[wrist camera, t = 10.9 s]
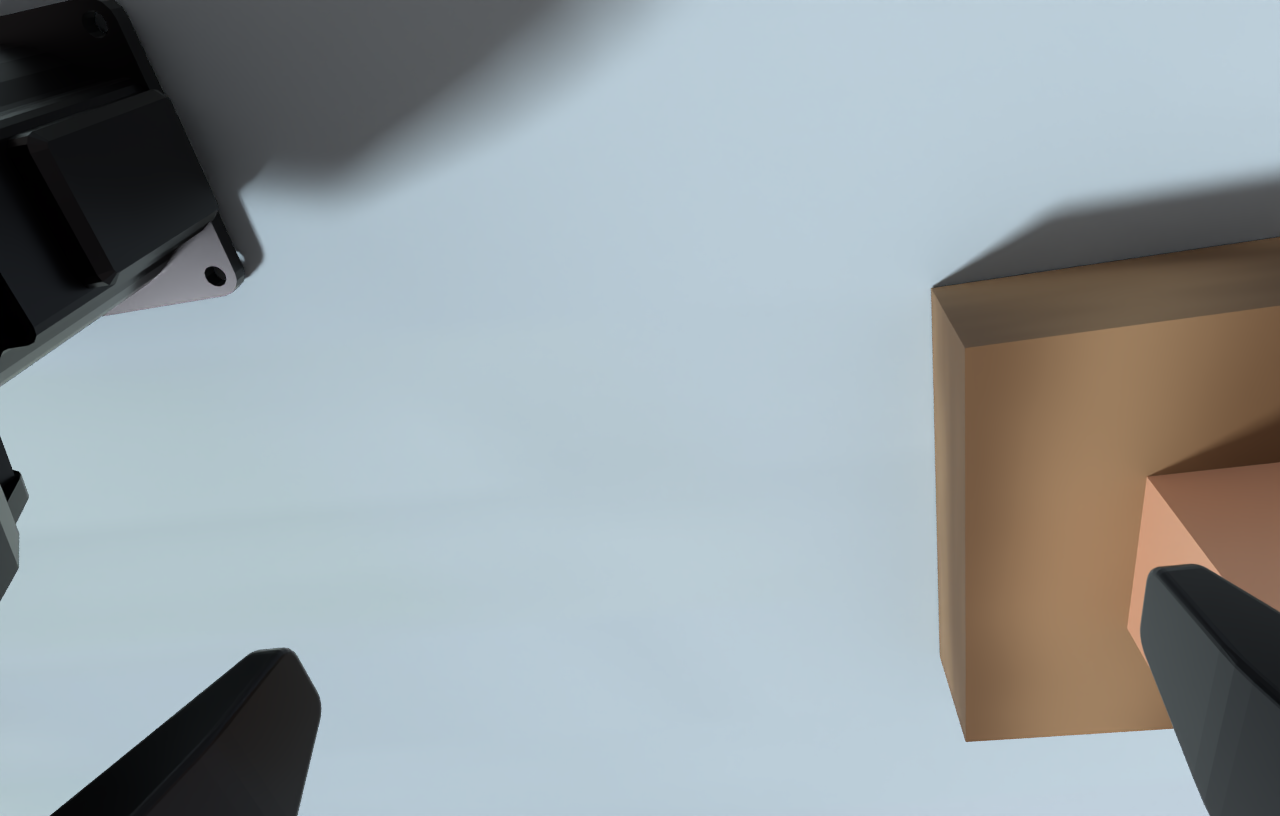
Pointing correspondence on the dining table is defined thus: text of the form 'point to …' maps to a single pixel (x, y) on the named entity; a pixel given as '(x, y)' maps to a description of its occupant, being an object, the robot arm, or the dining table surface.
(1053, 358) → the walnut base
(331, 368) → the dining table surface
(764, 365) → the dining table surface
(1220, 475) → the terracotta block
